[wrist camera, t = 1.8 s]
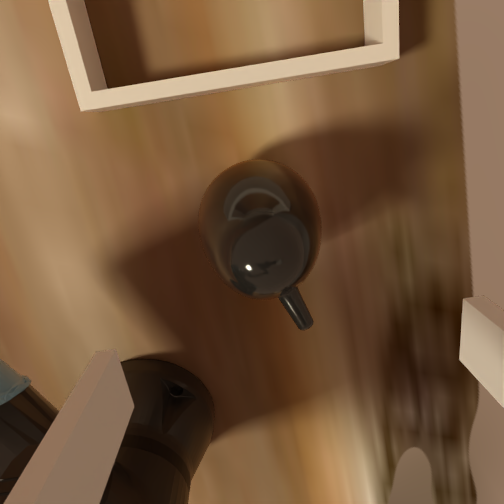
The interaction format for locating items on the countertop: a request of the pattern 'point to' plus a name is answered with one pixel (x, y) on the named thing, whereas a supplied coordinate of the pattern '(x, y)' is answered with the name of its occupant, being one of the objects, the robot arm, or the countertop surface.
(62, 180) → the countertop surface
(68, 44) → the box
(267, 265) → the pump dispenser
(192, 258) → the countertop surface
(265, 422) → the countertop surface
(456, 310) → the countertop surface
